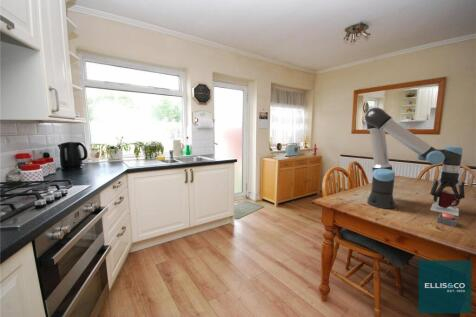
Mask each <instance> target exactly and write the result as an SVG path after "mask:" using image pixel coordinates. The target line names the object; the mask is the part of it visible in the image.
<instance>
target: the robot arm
mask: <svg viewBox="0 0 476 317" xmlns="http://www.w3.org/2000/svg"><path fill="white" fill-rule="evenodd" d="M364 119H365V124H366V130H367V131H369V133H370V142H371V150H372V157H373V158H372V159H373V165H372V167H371V169H372V171H371V172H372V179H371V180H372V181H371V188H370V189H371V191H370V193H369V195H368V198H367V201H366V203H367V204H368V205H370V206H373V207H376V208H379V209H387V210H388V209H389V210H390V209H395V207H396V203H395V199H394V189H395V188H394V187H395V178H396V173H395V171H394V170H393V165H391V163H389V160H390V159H389V154H388V145H387V138H386V137H387V136H386V133H387V134H388V135H390V136H391V137H393V138H394V139H396V140H397V141H398V142H400V143H401V144H403V145H405V146H404V147H407V148H408V149H410V150H412V151H413V152H414V153H415V154H417V159H418V161H426V162H428V163H430V164H432V165H439V164H442V166H441V172H440V173H441V175H440V178H439V179H433V184H432V187H431V190H430V193H429V194H430V195H431V196H433V200H432V201H434V203H433V204H434V206H436V207H438V203H439V197H438V195H439V194H440V193H441V192H442V190H445V188H451V190H452V192H453V193H454V194H457V195H456V198H455V199H457V200H458V201H459V203H460V200H462V199H465V198H466V197H465V185H466V183H465V182H464V181H459V179H460V178H459V177H460V170H461V162H462V158H463V148H462V147H461V146H451V145H450V146H445V147H444V148H443V149H439V148H438V149H437V148H435V147H434V146H432V145H430V143H428V142H426V141H425V140H423V139H421V138H420V137H419V136H417V135H416V134H414V133H413V132H411V131H410V130H409V129H406V128H405V127H404V126H402V125H401V124H399V123H398V122H396V121H395V120H393V117H392V116H391V115H389V113H387V112H386V111H385V110H384V109H383V108H380V107H373V108H370V109H368V110H367V111H366V113H365V115H364ZM439 183H440V185H439ZM457 184H458V188H457ZM455 204H456V201H455V200H454V201H453V203H452V205H455ZM451 207H452V208H454V209H457V207H458V205H457V206H451Z"/></svg>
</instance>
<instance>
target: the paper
mask: <svg viewBox="0 0 476 317" xmlns="http://www.w3.org/2000/svg"><path fill="white" fill-rule="evenodd" d="M434 204H435V203H432V205H431V207H430V208H429V209H430V211H433V212H438V213H440V214H442V213H449V214H452V215H454V217H455V216H456V217H459V214H460V208H457V209H454V208H452V206H449V207H447V208H443V207H440V206H438V207H436V206H434Z"/></svg>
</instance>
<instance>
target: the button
mask: <svg viewBox="0 0 476 317" xmlns="http://www.w3.org/2000/svg"><path fill="white" fill-rule="evenodd" d="M441 214H442V217H441V218H445V219H449V220H453V218H454V217H455V215H452V214H449V213H441Z"/></svg>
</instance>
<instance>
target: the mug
mask: <svg viewBox="0 0 476 317" xmlns="http://www.w3.org/2000/svg"><path fill="white" fill-rule="evenodd" d="M456 195H457V194H454V192H453V191H450V190H447V189H446V190H445V189H443V190H442V192H441V193H440V194H439V195H438V197H439V203H438V206H440V207H443V208H447V207H452V206H457V207H458V206H459V204H460V202H459V201H458V200H457V199H455V198H456ZM454 200H455V201H456V204H455V205H453V201H454Z"/></svg>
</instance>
